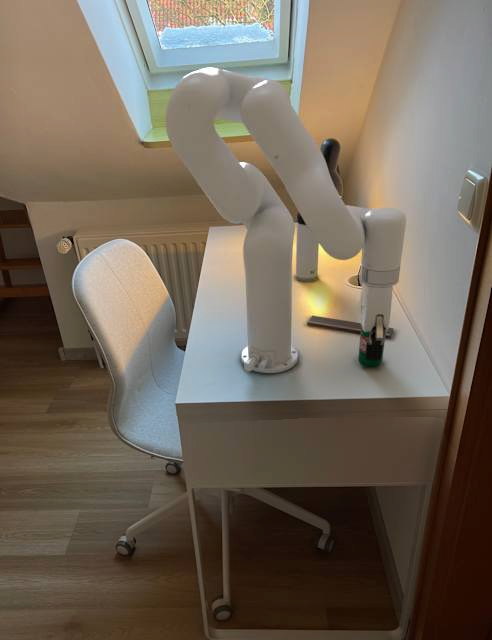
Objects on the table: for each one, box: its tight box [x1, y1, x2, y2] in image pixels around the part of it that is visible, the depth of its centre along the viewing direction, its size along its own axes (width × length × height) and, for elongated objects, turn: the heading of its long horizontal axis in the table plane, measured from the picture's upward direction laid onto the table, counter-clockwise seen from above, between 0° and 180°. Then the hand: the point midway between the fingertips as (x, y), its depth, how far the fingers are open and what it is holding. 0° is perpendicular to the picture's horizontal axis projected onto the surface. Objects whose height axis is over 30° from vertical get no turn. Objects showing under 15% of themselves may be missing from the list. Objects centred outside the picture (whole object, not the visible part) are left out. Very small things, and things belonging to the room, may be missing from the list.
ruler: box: [306, 315, 394, 340], centre depth 132 cm, size 4×20×1 cm, turn 65°
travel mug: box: [295, 211, 320, 283], centre depth 154 cm, size 6×7×20 cm
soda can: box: [357, 326, 386, 369], centre depth 115 cm, size 5×5×12 cm
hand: (371, 351), depth 117 cm, fingers closed on soda can, 5 cm apart
